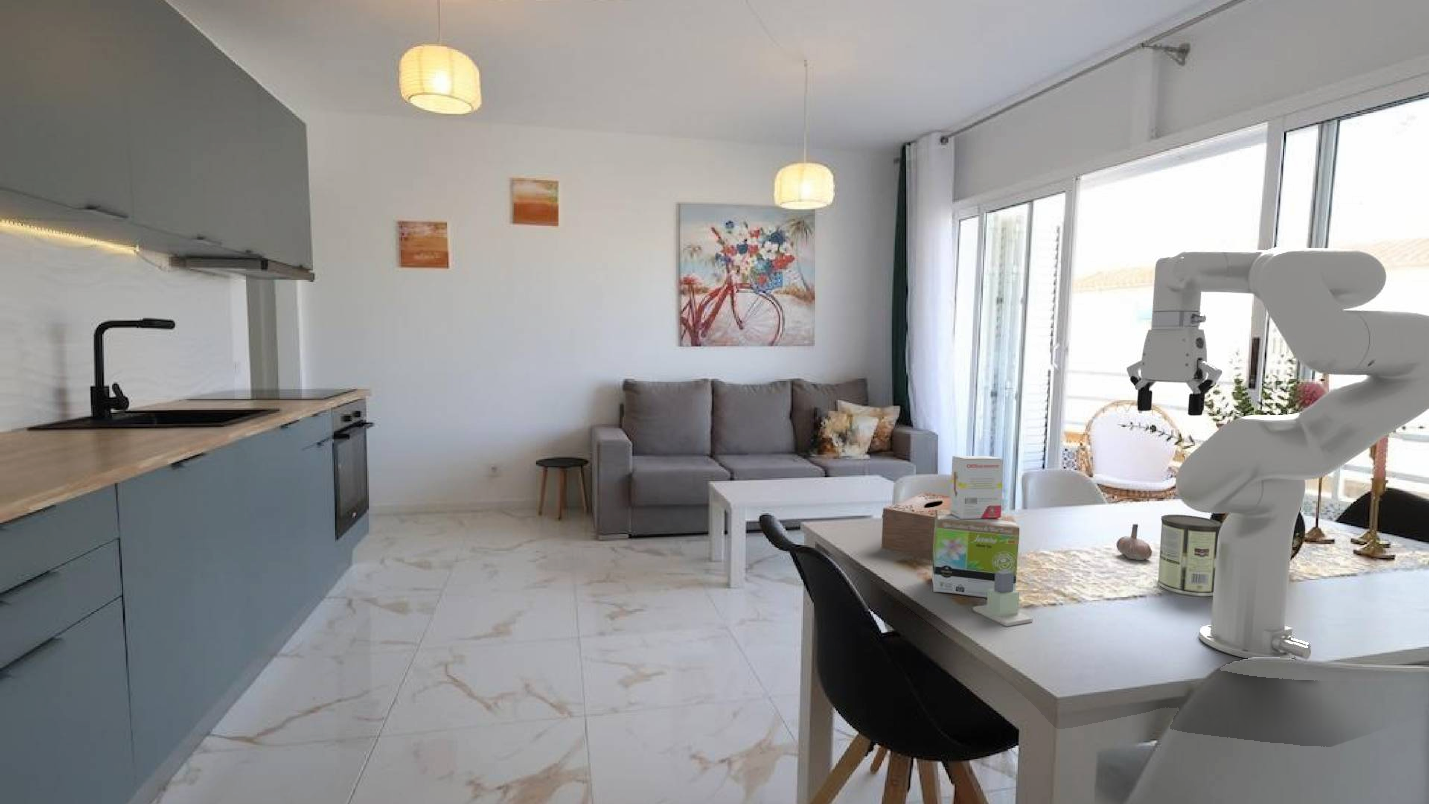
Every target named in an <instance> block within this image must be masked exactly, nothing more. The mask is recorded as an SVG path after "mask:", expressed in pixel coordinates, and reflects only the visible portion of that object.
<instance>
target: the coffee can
mask: <svg viewBox="0 0 1429 804" xmlns="http://www.w3.org/2000/svg"><path fill="white" fill-rule="evenodd" d="M1160 520H1161V527H1160V528H1161V529H1160V530H1161V531H1160V547H1159V558H1158V559H1159V560H1158V575H1157V576H1158V577H1157V585H1158V586H1159V587H1160V586H1161V588H1162V589H1164V588H1165V589H1164V590H1167V591H1169V592H1173V593H1177V594H1181V595H1185V596H1196V597H1213V592H1214V579H1215V566H1216V553H1217V541H1218V535H1219V531H1220V528H1221V526H1222V524H1223V522H1220V521H1218V520H1215V519H1212V518H1209V517H1208V518H1207V517H1203V516H1195V515H1189V514H1186V515H1185V514H1166V515H1162V516H1160Z"/></svg>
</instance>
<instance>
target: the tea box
mask: <svg viewBox="0 0 1429 804" xmlns="http://www.w3.org/2000/svg"><path fill="white" fill-rule="evenodd" d="M1020 531H1021V530H1020V526H1019V525H1018V522H1016V520H1015V518H1014V517H1013V516H1012V515H1005V514H1004V515H1003V514H1001V518H983V519H960V518H959V517H957V516H954V515H952V514H951V513H950V510H940V509H936V515H935V529H934V544H933V558H932V559H931V560H932V562H931V581H932V587H933V588H932V590H933V593H947V594H948V593H949V594H957V595H962V596H963V595H965V596H971V597H978V598H979V597H980V598H987V595H988V589H994V584H995V572H996V571H1003V570H1008V571H1011V572H1014V582H1013V590H1016V584H1017V571H1018V554H1019V545H1020V544H1019V541H1020Z"/></svg>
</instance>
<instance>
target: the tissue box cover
mask: <svg viewBox="0 0 1429 804" xmlns="http://www.w3.org/2000/svg"><path fill="white" fill-rule="evenodd" d="M936 509H940V510H950V495H947V494H940V493H931V492H922V493H920V494H917V495H914V496H912V497H910V498H907V499H904V500H901V501H899V502H896V503H893V504H891V505H889V506H886V507H883V508H882V511H883V512H882V527H881V529H882V531H881V533H882V534H881V549H882V550H886V551H891V552H896V553H900V554H906V555H909V556H914V557H920V558H925V559H929V560H932V558H933V544H934V529H935V515H936Z"/></svg>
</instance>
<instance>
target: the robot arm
mask: <svg viewBox="0 0 1429 804" xmlns="http://www.w3.org/2000/svg"><path fill="white" fill-rule="evenodd" d="M1154 267H1155V268H1154V269H1155V270H1154V280H1153V281H1154V282H1153V283H1154V284H1153V297H1152V299H1153V300H1152V313H1151V329H1148V330H1147V332H1146V336H1145V340H1144V344H1143V349H1142V355H1141V360H1140V361H1136V362H1135V363H1133V364H1131V365H1129V366H1128V367H1126V372H1127V374H1128V376H1129V380H1130V382H1131V383H1132V385H1134V389H1135V390H1136V391H1137V399H1136V405H1137V411H1139V412H1151V410H1152V406H1153V405H1152V404H1153V390H1150V389H1151V388H1152V387H1153V386H1154V385H1155V383H1157V382H1159V383H1160V382H1162V383H1178V384H1179V383H1180V384H1181V383H1182V384H1183V383H1184V384H1185V383H1186V385H1187V386H1188V388H1189V389H1190V390H1191V392H1192V393H1189V395H1188V404H1187V405H1188V407H1187V415H1188V416H1191V417H1192V416H1193V417H1195V416H1197V417H1198V416H1202V415H1203V411H1204V410H1205V398H1206V395H1207V394H1208V393H1209V391H1210V390H1211V389H1212V388H1214V387H1215V386H1216V384H1217V382H1218V380H1219V379H1220V377H1221V376H1222V374H1223V370H1222V369H1219V367H1216V366H1215V365H1212V364H1211V363H1209V362H1208V354H1207V353H1208V351H1207V342H1206V334H1205V331H1204V329H1200V325H1201V323H1205V322H1206V320H1207V317H1206V315H1204V314H1201V301H1202V293H1233V294H1234V293H1235V294H1251V295H1252V294H1253V295H1254V296H1255V297H1256V298H1257V299H1259V300H1260V301H1261V302H1262V303H1263V304H1262V305H1263V306H1264V308H1265V310H1266V312H1267V314H1268V315H1269V317H1270V319H1271V320H1272V322H1273V324H1275V327H1276V328H1277V330H1278V332H1279V334H1280V335H1281V337H1282V338H1283V340H1284V341H1285V344H1286V345H1287V347H1288V349H1289V350H1290V352H1291V353H1292V355H1293V356H1294V357H1295V359H1296V360H1297V361H1298V362H1299V363H1300V364H1301V365H1303V366H1304V367H1305V368H1306V369H1307V370H1310V371H1313V372H1315V373H1319V374H1323V375H1324V374H1325V375H1335V376H1358V377H1356V378H1355V379H1352V380H1350V381H1347V382H1345V383H1343V384H1341V385H1338V386H1336V387H1334V388H1333V389H1331V390H1329V391H1327V392H1326V393H1324V394H1323V395H1322V396H1320V397H1319V398H1318V399H1317V400H1316V401H1315V402H1313V403H1312V404H1311V405H1309V406H1308V407H1306V408H1304V409H1303V410H1301V411H1299V412H1297V413H1292V414H1291V413H1290V414H1282V415H1280V414H1279V415H1272V414H1271V415H1270V414H1269V415H1268V414H1267V415H1266V414H1263V415H1262V414H1255V415H1246V416H1240V417H1238V418H1236V419H1233V420H1231V421H1229V422H1226V424H1224V425H1223V426H1221V427H1220V428H1219V429H1218V430H1216V432H1214V433H1213V434H1212V435H1211V436H1210V437H1209V438H1208V439H1206V440H1205V441H1204V442H1203V443H1202V444H1201V445H1200V446H1198V447H1197V448H1196V449H1195V450H1193V451H1192V452H1191V453H1190V454H1189V455H1188V456H1187V457H1186V458H1185V459H1184V461H1183V462H1182V463H1181V465H1180V466H1179V468H1178V471H1177V473H1176V477H1175V491H1176V493H1177V496H1178V497H1179V499H1180V501H1181V502H1182V503H1183V504H1185V505H1186V506H1187V507H1188V508H1190V509H1192V510H1193V511H1196V512H1200V513H1205V514H1228V515H1227V516H1226V518H1225V519H1224V521H1223V522H1222V526H1221V528H1220V531H1219V535H1218V541H1217V553H1216V566H1215V579H1214V592H1213V596H1212V606H1211V607H1212V608H1211V617H1210V619H1211V620H1210V624H1208V625H1204V626H1202V627H1199V629H1198V637H1199V640H1201V641H1202V643H1204V644H1206V645H1208V646H1210V647H1211V648H1213V649H1215V650H1217V651H1219V652H1223V653H1226V654H1228V655H1232V656H1235V657H1239V658H1243V659H1247V658H1252V657H1280V658H1293V659H1294V658H1295V657H1298V658H1301V659H1304V660H1308V659H1309V658H1310V656H1311V654H1312V649H1311V648H1312V647H1311V643H1309V642H1307V641H1306V642H1305V641H1304V640H1300V639H1299V640H1298V639H1296V638H1294V636H1293V635H1292V634H1293V627H1290V626H1286V625H1285V624H1286V615H1287V605H1288V603H1287V601H1288V591H1289V580H1290V569H1291V567H1290V566H1291V559H1292V558H1291V557H1292V549H1293V548H1292V546H1293V540H1294V539H1293V538H1294V531H1295V526H1296V523H1297V519H1298V515H1299V514H1300V510H1301V508H1302V504H1303V501H1304V498H1305V493H1306V480H1307V481H1308V480H1315V479H1320V478H1323V477H1326V476H1328V475H1329V474H1331V473H1333V472H1334V471H1336V470H1338V469H1339V468H1340V467H1342V466H1343V465H1345V464H1347V463H1348V462H1350V461H1352V459H1354V458H1356V457H1357V456H1359V455H1361V454H1362V453H1363V452H1365V451H1366V450H1368V449H1370V448H1371V447H1372V446H1374V445H1375V444H1377V443H1378V442H1379V441H1380V440H1382V439H1384V438H1385V437H1387V436H1388V435H1390V434H1391V433H1393V432H1395V431H1396V430H1398V429H1399V428H1401V427H1403V426H1404V425H1406V424H1408V423H1410V422H1411V421H1414V420H1415V419H1416V418H1418V417H1419V416H1420V415H1422V414H1424V413H1425V412H1426V411H1428V410H1429V315H1427V314H1422V313H1418V312H1416V313H1415V312H1409V311H1395V310H1394V311H1392V310H1388V311H1387V310H1350V309H1353V308H1357V307H1360V306H1363V305H1365V304H1367V303H1370V302H1371V301H1373V300H1374V299H1375V298H1376V297H1378V295H1379V294H1380V293H1381V292H1382V291H1383V289H1384V288H1385V285H1386V282H1387V281H1386V280H1387V273H1386V268H1385V267H1384V265H1383V264H1382V262H1381V261H1380V260H1378V258H1376V257H1375V256H1373V255H1371V254H1369V253H1367V252H1364V251H1361V250H1356V249H1349V248H1316V247H1315V248H1313V247H1310V248H1309V247H1286V246H1285V247H1284V246H1283V247H1281V246H1280V247H1274V248H1270V249H1268V250H1259V249H1257V250H1256V249H1241V248H1239V249H1238V248H1237V249H1236V248H1204V247H1203V248H1202V247H1199V248H1190V249H1186V250H1183V251H1182V252H1179V253H1178V254H1172V255H1171V254H1170V255H1165V256H1162V257H1160V258H1158V259H1157V261H1156V262H1155V265H1154ZM1348 309H1349V310H1348ZM1139 371H1140V375H1139Z"/></svg>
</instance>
